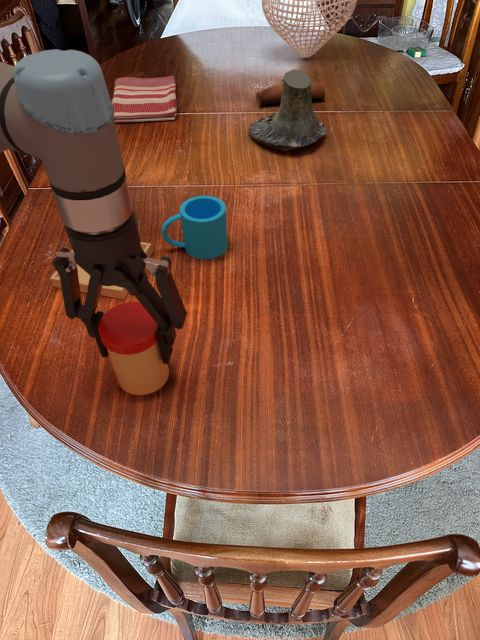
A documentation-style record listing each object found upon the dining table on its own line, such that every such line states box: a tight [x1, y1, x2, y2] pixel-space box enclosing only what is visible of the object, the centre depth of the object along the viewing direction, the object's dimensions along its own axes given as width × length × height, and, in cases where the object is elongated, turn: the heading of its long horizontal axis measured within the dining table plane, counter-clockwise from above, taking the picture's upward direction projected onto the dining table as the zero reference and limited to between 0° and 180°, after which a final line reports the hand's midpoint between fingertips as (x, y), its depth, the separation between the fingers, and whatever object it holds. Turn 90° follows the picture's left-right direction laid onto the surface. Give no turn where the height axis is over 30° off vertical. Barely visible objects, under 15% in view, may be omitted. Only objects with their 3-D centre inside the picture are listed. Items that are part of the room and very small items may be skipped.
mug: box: [161, 195, 229, 260], centre depth 93 cm, size 12×8×8 cm
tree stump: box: [248, 69, 327, 152], centre depth 119 cm, size 18×20×18 cm
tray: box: [49, 241, 153, 300], centre depth 91 cm, size 13×13×2 cm
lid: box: [98, 301, 158, 355], centre depth 68 cm, size 8×8×2 cm
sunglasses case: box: [255, 82, 326, 107], centre depth 137 cm, size 18×7×7 cm
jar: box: [107, 341, 170, 396], centre depth 72 cm, size 8×8×10 cm
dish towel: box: [111, 75, 178, 124], centre depth 135 cm, size 17×23×3 cm
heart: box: [261, 0, 357, 58], centre depth 150 cm, size 28×16×22 cm, turn 102°
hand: (137, 353), depth 72 cm, fingers closed on lid, 8 cm apart
